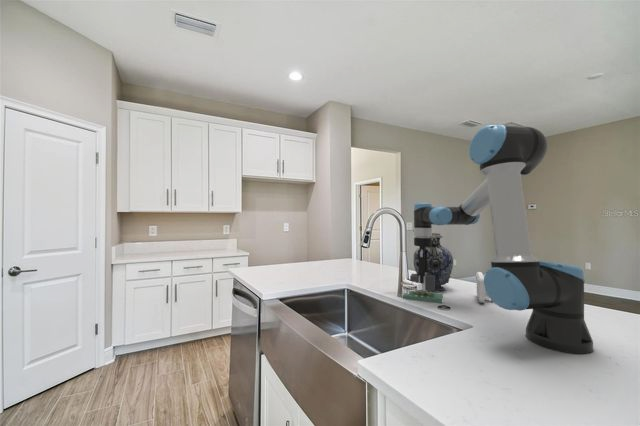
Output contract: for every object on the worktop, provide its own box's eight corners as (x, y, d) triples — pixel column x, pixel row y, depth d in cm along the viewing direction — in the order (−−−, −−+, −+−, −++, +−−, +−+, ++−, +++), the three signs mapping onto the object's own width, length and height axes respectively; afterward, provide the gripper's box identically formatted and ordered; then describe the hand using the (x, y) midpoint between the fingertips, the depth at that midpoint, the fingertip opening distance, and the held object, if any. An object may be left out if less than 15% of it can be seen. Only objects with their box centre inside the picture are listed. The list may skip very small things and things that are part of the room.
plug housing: (435, 288, 129) (435, 275, 129) (434, 291, 124) (434, 278, 124) (412, 286, 134) (412, 273, 134) (410, 289, 128) (410, 276, 128)
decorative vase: (456, 295, 131) (455, 234, 132) (414, 293, 137) (413, 234, 138) (450, 285, 152) (449, 232, 152) (413, 283, 157) (412, 232, 158)
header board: (441, 303, 121) (441, 291, 121) (402, 298, 127) (402, 287, 127) (442, 297, 130) (442, 286, 130) (406, 293, 136) (406, 282, 137)
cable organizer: (508, 308, 114) (507, 279, 115) (478, 304, 119) (477, 276, 119) (502, 298, 128) (502, 272, 128) (475, 295, 133) (475, 270, 133)
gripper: (416, 235, 139) (416, 283, 139) (411, 238, 122) (411, 292, 122) (433, 236, 136) (433, 284, 136) (430, 239, 119) (430, 294, 119)
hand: (422, 288), depth 129 cm, fingers closed on plug housing, 6 cm apart
